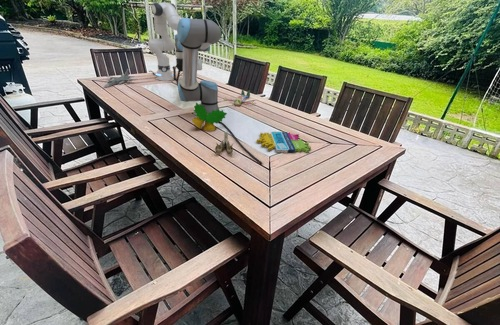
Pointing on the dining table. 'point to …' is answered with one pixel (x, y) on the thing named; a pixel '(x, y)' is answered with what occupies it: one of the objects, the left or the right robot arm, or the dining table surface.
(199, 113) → the ornament
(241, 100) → the toy
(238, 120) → the dining table surface
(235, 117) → the dining table surface
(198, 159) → the dining table surface
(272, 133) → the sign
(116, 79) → the airplane
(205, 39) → the right robot arm
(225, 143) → the jawbone
